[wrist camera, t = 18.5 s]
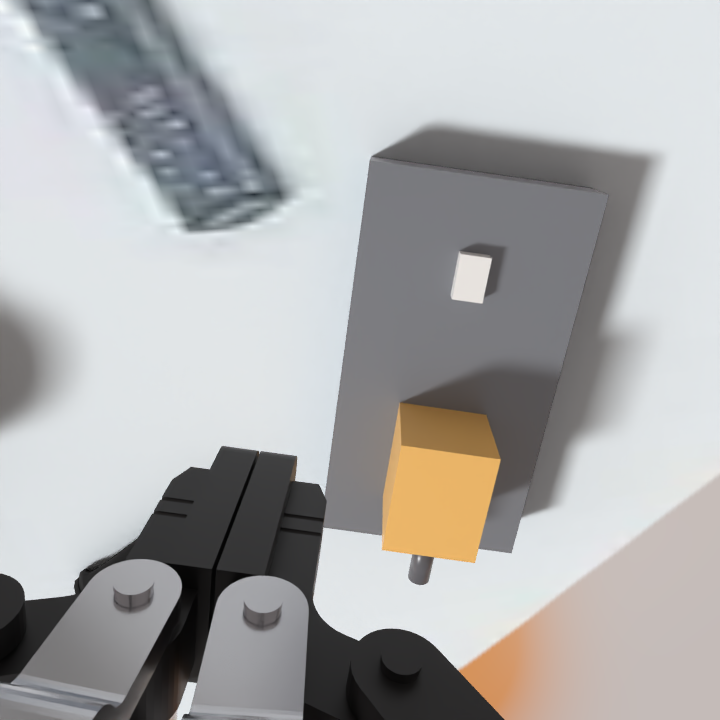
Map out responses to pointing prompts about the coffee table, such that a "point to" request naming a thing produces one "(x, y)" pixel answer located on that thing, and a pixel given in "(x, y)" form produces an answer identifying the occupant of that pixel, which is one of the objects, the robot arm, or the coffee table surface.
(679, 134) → the coffee table surface
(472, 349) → the socket board
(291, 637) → the robot arm
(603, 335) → the coffee table surface
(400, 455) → the plug
